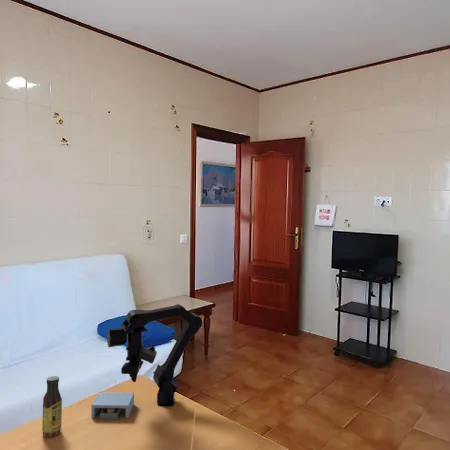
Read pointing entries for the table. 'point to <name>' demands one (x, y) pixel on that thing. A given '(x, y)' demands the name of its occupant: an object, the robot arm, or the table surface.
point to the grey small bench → (113, 402)
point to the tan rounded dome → (111, 410)
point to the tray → (109, 414)
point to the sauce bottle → (52, 408)
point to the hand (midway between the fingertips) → (134, 381)
